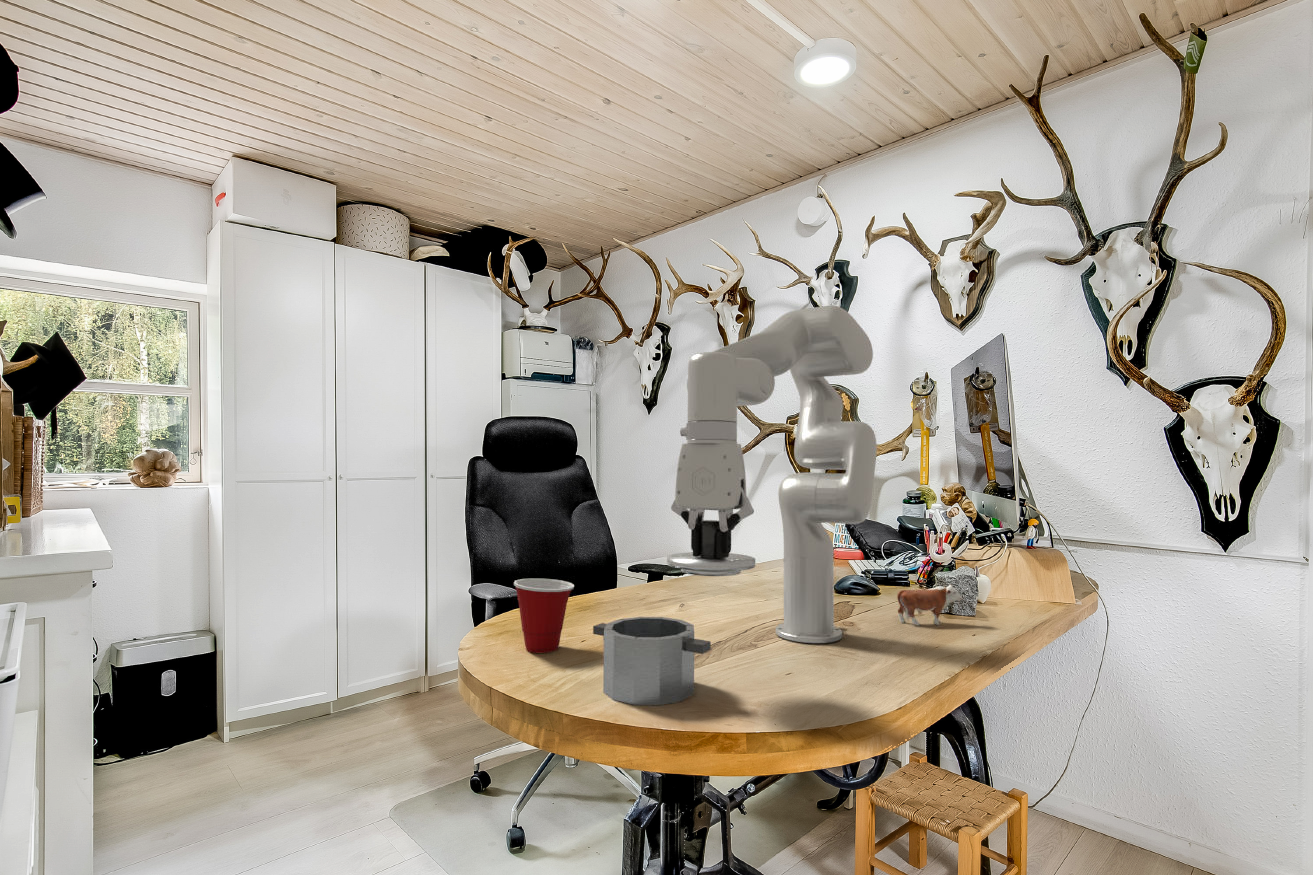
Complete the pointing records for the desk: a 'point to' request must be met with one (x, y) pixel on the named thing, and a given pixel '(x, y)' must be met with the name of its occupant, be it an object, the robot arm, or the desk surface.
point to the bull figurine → (925, 602)
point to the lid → (710, 556)
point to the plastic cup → (542, 612)
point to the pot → (649, 659)
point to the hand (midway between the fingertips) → (710, 555)
